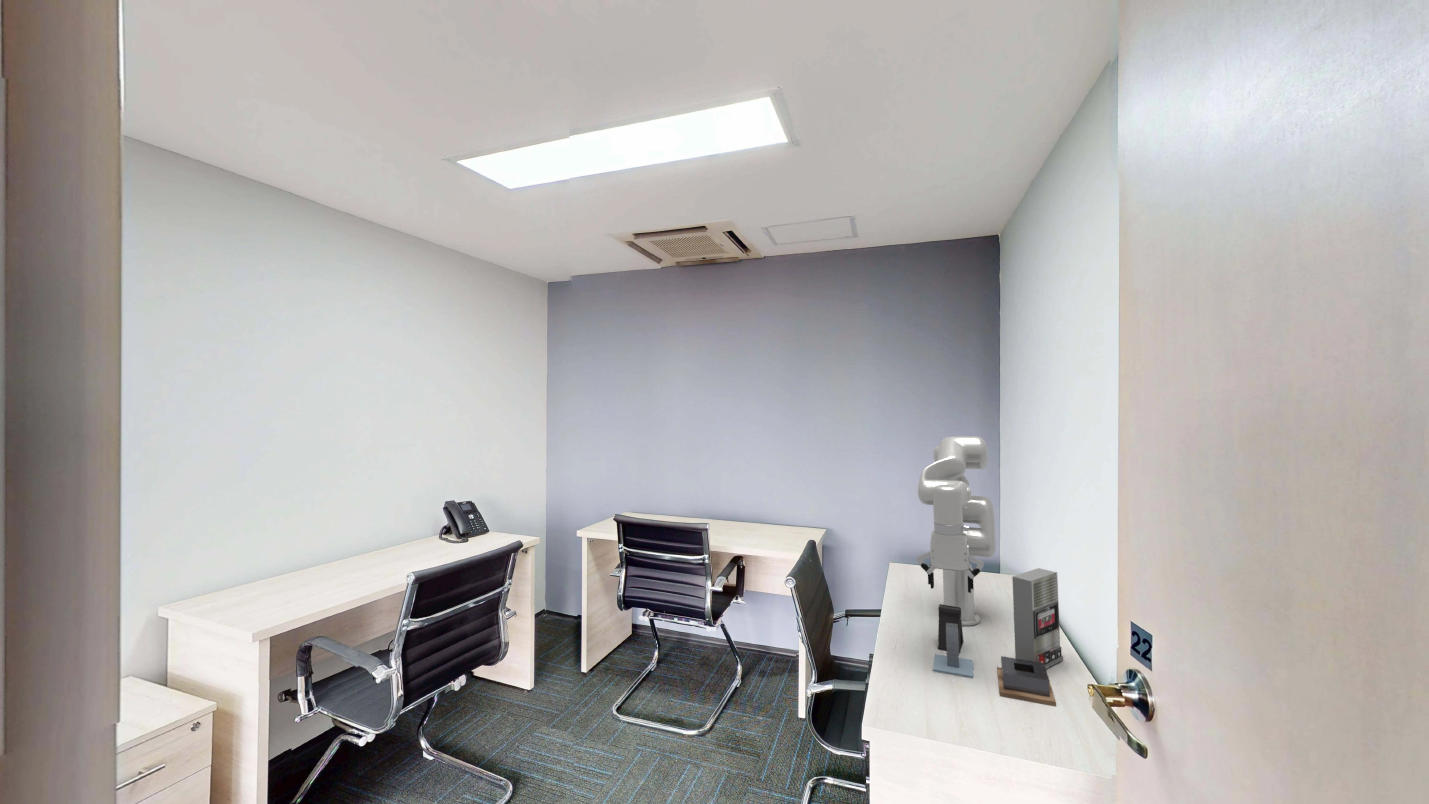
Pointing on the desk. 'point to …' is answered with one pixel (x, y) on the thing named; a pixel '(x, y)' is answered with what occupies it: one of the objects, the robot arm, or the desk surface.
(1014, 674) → the block
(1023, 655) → the cassette tape recorder
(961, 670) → the mat
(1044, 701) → the stand
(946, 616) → the phone stand
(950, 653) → the key peg
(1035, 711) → the desk surface
